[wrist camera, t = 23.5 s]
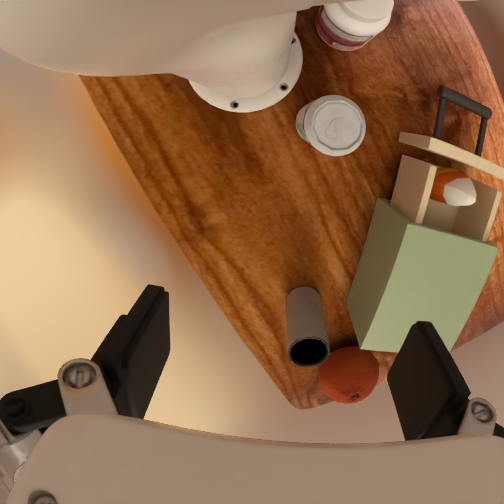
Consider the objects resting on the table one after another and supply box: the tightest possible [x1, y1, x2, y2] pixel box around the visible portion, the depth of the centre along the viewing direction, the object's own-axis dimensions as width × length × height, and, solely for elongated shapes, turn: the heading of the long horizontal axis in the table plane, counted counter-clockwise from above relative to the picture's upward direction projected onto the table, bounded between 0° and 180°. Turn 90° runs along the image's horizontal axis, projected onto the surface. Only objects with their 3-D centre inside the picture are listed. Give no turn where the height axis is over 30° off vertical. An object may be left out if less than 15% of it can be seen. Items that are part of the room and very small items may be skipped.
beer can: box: [296, 95, 366, 156], centre depth 26 cm, size 5×5×12 cm
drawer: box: [390, 85, 504, 242], centre depth 28 cm, size 20×11×8 cm, turn 171°
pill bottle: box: [316, 0, 394, 51], centre depth 22 cm, size 6×6×11 cm
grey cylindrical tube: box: [286, 286, 330, 368], centre depth 36 cm, size 4×4×10 cm
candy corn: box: [429, 167, 477, 206], centre depth 27 cm, size 6×3×8 cm, turn 109°
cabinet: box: [346, 197, 499, 352], centre depth 33 cm, size 15×13×10 cm
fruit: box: [318, 346, 379, 404], centre depth 41 cm, size 9×9×8 cm
